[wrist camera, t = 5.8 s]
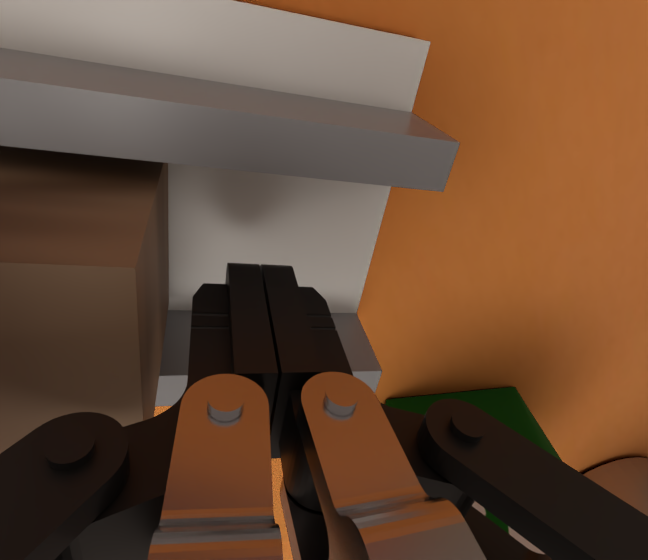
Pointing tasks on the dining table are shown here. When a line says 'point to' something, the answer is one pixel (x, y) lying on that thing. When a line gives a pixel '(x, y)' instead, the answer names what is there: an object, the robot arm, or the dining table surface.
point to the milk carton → (503, 408)
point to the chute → (232, 136)
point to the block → (80, 287)
